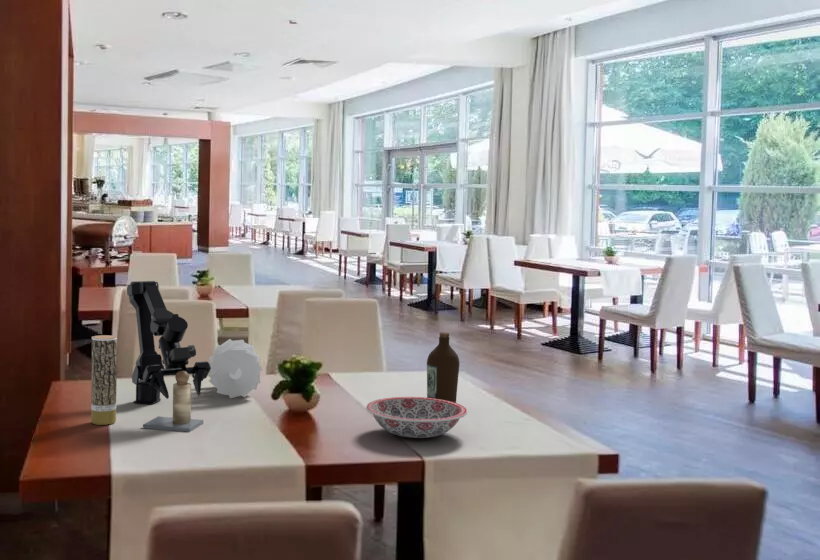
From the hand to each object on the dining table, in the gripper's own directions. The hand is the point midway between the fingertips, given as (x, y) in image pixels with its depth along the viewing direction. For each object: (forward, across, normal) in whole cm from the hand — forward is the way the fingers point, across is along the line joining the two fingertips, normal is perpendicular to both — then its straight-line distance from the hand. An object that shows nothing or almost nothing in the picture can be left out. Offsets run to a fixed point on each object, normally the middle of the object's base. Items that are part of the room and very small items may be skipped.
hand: (183, 396), depth 256 cm
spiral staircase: (-19, +30, +32) cm, 48 cm away
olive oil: (+15, +82, -3) cm, 83 cm away
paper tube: (-3, -19, +16) cm, 25 cm away
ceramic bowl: (+32, +56, -20) cm, 68 cm away
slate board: (+5, -2, +8) cm, 9 cm away
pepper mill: (+4, 0, +6) cm, 8 cm away
